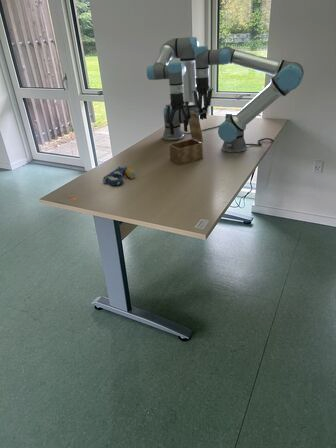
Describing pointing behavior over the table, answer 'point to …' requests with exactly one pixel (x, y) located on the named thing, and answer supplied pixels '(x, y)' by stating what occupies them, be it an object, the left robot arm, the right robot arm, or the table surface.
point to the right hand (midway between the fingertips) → (203, 118)
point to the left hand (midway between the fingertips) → (179, 132)
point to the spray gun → (118, 175)
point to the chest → (186, 151)
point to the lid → (196, 125)
